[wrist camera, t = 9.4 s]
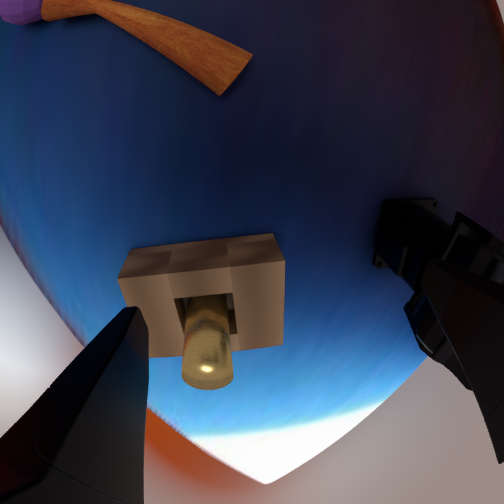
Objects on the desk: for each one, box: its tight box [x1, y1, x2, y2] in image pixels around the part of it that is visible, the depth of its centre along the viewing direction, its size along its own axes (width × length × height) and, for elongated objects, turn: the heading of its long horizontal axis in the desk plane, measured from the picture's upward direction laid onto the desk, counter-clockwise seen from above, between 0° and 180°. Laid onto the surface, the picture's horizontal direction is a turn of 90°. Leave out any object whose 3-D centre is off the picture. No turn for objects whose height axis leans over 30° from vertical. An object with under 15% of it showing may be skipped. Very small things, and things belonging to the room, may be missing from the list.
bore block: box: [117, 233, 285, 358], centre depth 21 cm, size 11×8×4 cm
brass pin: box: [182, 293, 233, 390], centre depth 18 cm, size 3×3×8 cm
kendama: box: [0, 0, 252, 96], centre depth 10 cm, size 6×6×20 cm
